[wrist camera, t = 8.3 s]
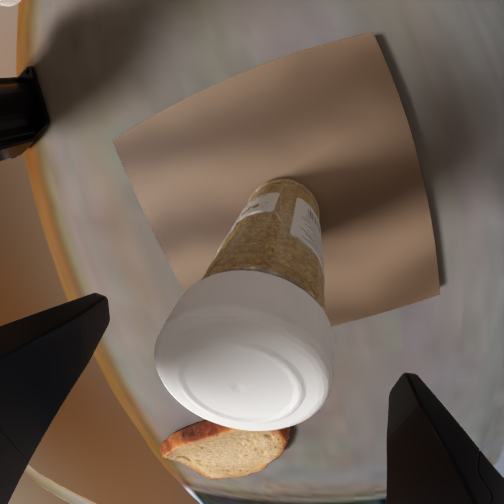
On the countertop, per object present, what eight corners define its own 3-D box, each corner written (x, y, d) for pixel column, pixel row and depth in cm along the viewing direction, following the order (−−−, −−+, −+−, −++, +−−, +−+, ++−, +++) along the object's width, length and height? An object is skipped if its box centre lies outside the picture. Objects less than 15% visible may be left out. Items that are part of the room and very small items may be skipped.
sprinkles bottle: (247, 175, 18) (131, 298, 6) (323, 180, 18) (354, 325, 6) (246, 245, 20) (165, 421, 8) (317, 251, 19) (317, 444, 7)
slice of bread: (289, 403, 28) (286, 432, 25) (291, 473, 35) (288, 494, 32) (133, 385, 32) (119, 408, 28) (174, 458, 39) (167, 476, 35)
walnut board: (119, 138, 19) (112, 140, 19) (369, 36, 14) (372, 32, 13) (219, 342, 25) (216, 349, 24) (435, 287, 20) (440, 294, 19)
